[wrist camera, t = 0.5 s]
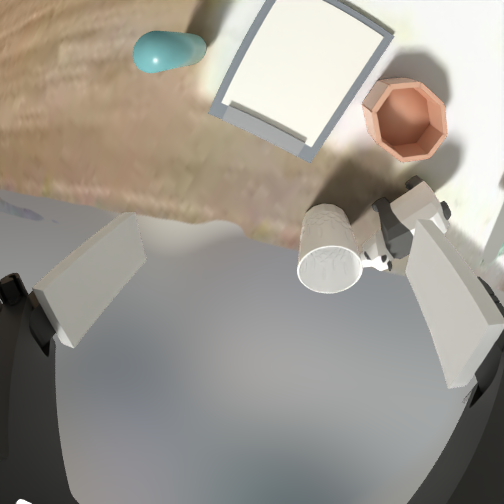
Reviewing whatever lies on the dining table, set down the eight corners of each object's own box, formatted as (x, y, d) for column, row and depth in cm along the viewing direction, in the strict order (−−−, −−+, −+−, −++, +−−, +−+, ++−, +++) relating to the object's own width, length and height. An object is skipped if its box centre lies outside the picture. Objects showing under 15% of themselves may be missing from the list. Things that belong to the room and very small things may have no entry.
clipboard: (282, -24, 18) (281, -27, 17) (392, 36, 21) (396, 36, 20) (209, 112, 31) (206, 114, 30) (309, 161, 34) (310, 165, 32)
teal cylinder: (186, 30, 24) (141, 26, 16) (216, 40, 25) (181, 37, 17) (174, 58, 27) (127, 66, 18) (203, 68, 27) (164, 78, 19)
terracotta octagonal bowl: (388, 63, 23) (401, 65, 20) (442, 109, 25) (459, 119, 22) (350, 120, 29) (357, 130, 26) (405, 160, 31) (416, 175, 28)
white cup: (344, 192, 36) (355, 237, 28) (356, 236, 40) (367, 285, 33) (290, 208, 39) (287, 255, 31) (308, 249, 43) (308, 298, 36)
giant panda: (422, 167, 31) (451, 204, 24) (437, 195, 33) (464, 236, 26) (340, 222, 39) (349, 268, 32) (360, 245, 41) (370, 291, 34)
